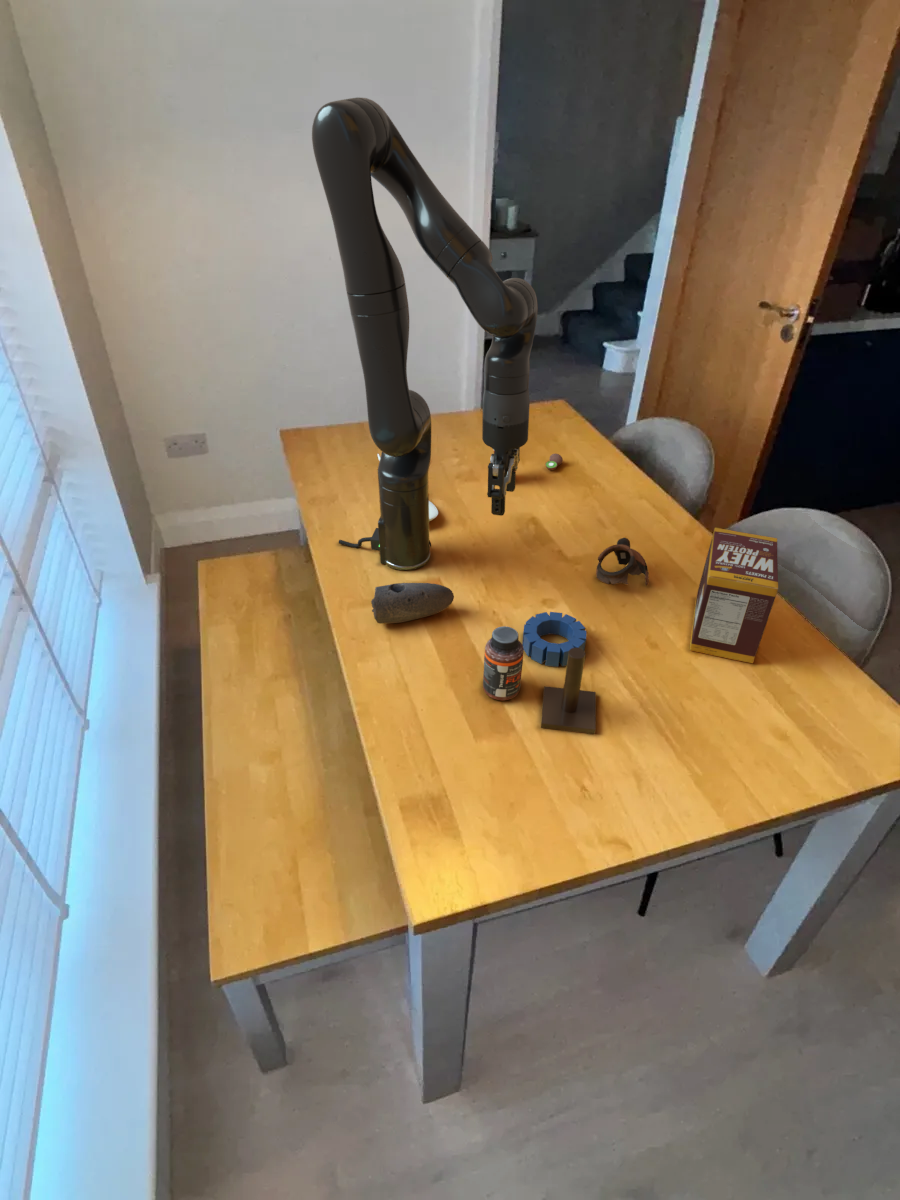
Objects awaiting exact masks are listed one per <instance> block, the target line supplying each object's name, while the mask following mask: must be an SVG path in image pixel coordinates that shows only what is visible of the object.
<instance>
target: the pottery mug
mask: <svg viewBox="0 0 900 1200" xmlns="http://www.w3.org/2000/svg"><path fill="white" fill-rule="evenodd" d="M611 553H614V555H615V556H616V559H617V562H618V563H617V564H618V565H622V566H623V565H624V566H625V567H624V568H622V569H620V570H616V571H608V570H605V569H604V568H603V567H602V563H603V561H604V559H605V558H606V557H607V556H609V555H610V554H611ZM597 561H598V563H597V565H596V569H595V576H596V579H597V580H598V581H600V582H602V583H604V584H606V585H618V584H624V585H627V586H629V575H631V576H641V575H642V574H643V575H644V580H645V586H649V583H650V579H649V578H650V576H649V575H650V574H649V573H650V572H649V567H648V564H647V561H646V559H645V557H643V555H642V554H641V553H640V552H639V551H638V550H636V549H634V548H631V541H630V540H629V538H627V537H622V538H621V537H620V538H619V539H618V540H617V542H616V544H613V545H610V546H608V547H607V548H605V549H603V551H602V552H601V553H599V555H598V557H597Z"/></svg>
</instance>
